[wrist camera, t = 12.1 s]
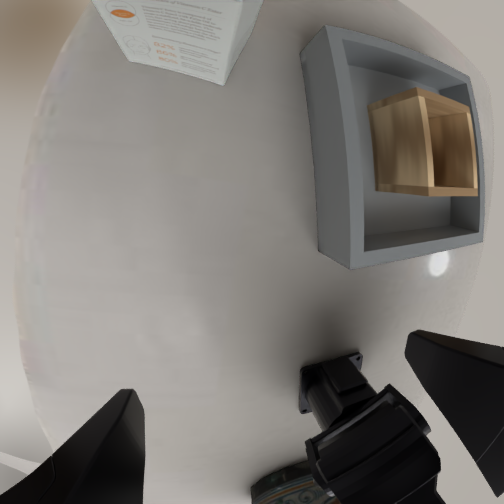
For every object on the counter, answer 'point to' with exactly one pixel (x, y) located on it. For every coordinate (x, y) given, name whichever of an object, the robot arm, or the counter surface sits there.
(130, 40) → the small box
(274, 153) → the counter surface
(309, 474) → the beer stein
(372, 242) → the slate gray crate
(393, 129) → the oak crate
